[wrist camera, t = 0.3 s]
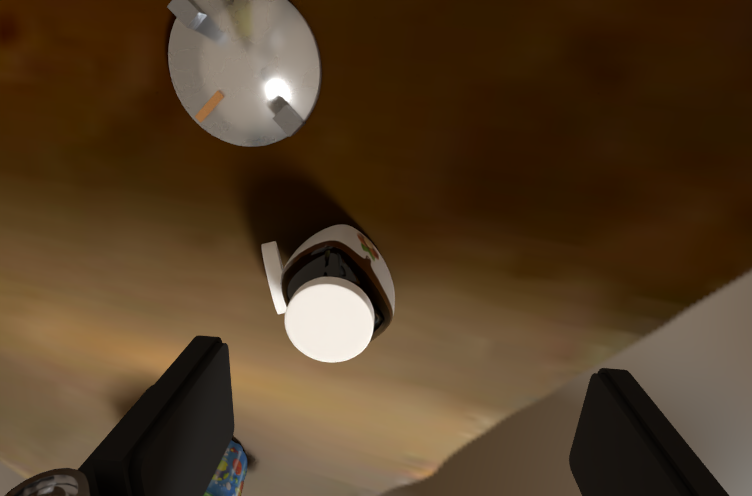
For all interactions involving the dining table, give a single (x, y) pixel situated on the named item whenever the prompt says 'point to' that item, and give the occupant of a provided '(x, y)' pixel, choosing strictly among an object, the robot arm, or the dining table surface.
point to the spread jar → (332, 293)
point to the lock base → (244, 67)
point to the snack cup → (229, 473)
